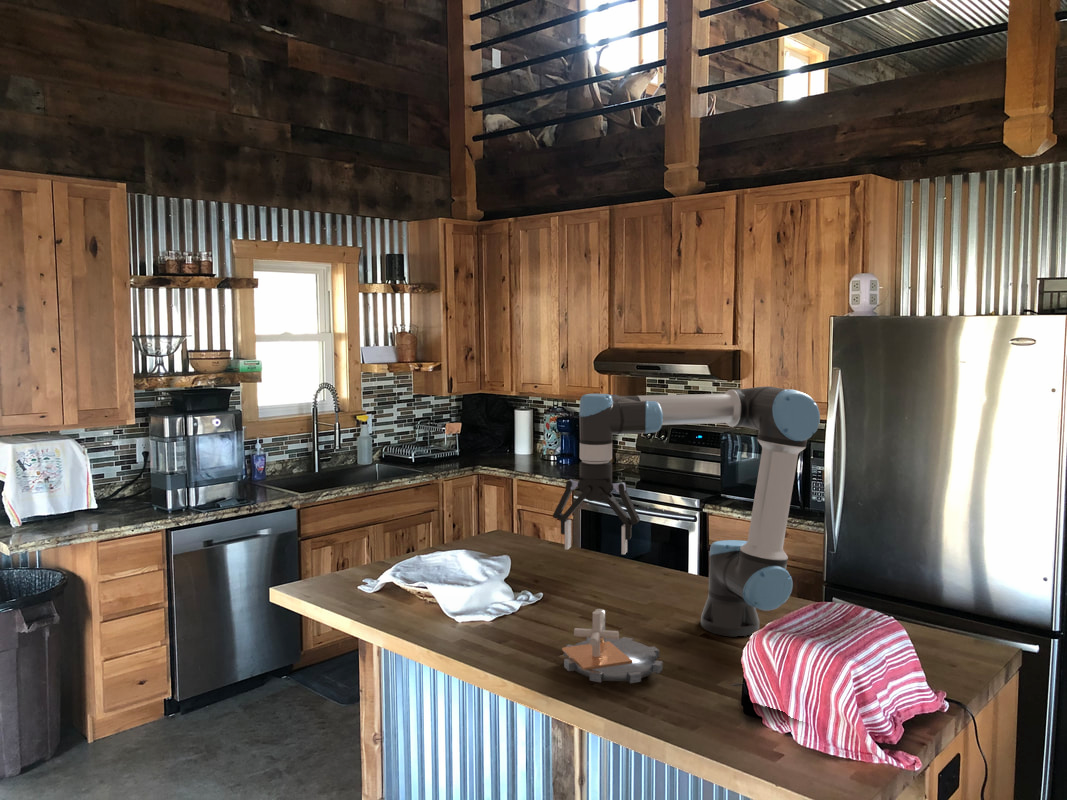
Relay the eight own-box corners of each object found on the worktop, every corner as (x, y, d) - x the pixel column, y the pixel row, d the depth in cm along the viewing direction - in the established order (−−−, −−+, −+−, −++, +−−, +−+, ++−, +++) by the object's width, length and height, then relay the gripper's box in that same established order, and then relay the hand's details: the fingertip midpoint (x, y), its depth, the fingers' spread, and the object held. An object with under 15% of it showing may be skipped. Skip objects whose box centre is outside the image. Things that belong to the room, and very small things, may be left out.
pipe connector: (616, 665, 188) (616, 622, 187) (571, 662, 190) (571, 618, 189) (620, 648, 198) (620, 606, 197) (577, 645, 199) (577, 603, 198)
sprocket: (633, 638, 211) (634, 599, 210) (681, 675, 189) (683, 632, 188) (547, 650, 203) (548, 609, 202) (587, 690, 181) (588, 645, 180)
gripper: (652, 460, 197) (651, 550, 199) (549, 455, 205) (549, 542, 207) (646, 466, 189) (645, 559, 192) (539, 460, 197) (540, 550, 200)
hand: (595, 550), depth 199 cm, fingers open, 13 cm apart
